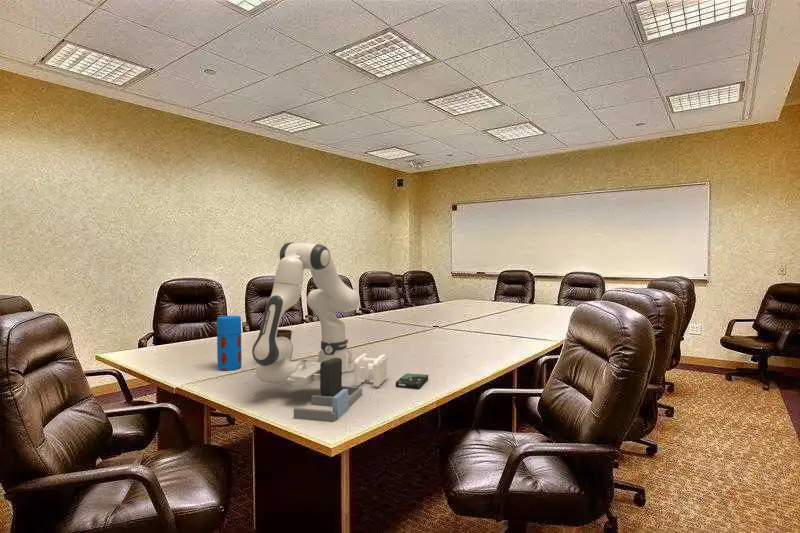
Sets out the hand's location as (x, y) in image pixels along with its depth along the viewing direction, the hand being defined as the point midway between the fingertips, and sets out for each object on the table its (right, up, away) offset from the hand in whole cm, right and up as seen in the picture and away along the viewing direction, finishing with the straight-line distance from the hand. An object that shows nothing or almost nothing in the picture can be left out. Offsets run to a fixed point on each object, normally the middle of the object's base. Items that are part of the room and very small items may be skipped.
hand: (329, 375), depth 164 cm
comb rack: (+1, -9, -7) cm, 12 cm away
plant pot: (-36, -8, +56) cm, 67 cm away
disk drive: (+32, -9, +20) cm, 39 cm away
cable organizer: (+15, -9, +20) cm, 26 cm away
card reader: (+1, -9, 0) cm, 9 cm away
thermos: (-56, -8, +46) cm, 73 cm away
